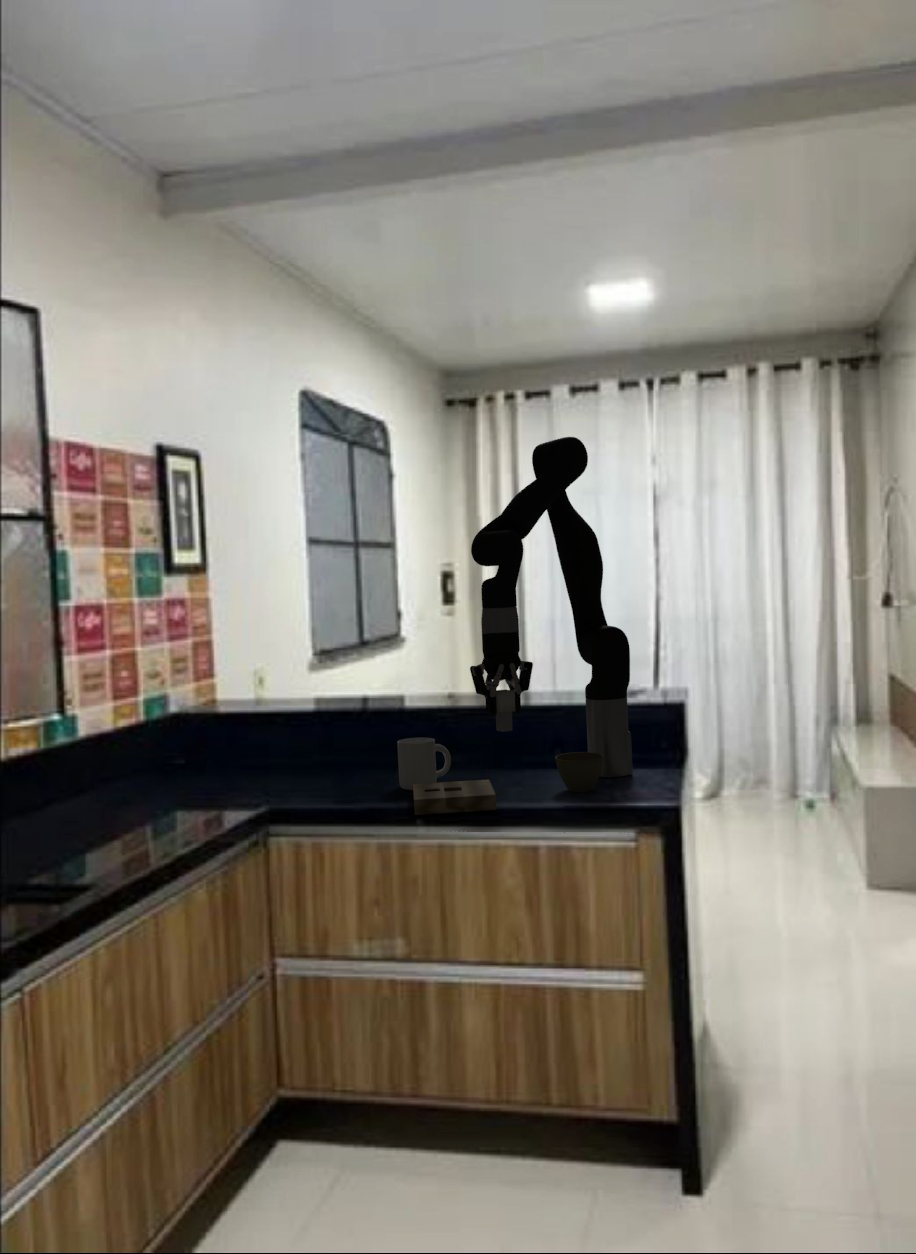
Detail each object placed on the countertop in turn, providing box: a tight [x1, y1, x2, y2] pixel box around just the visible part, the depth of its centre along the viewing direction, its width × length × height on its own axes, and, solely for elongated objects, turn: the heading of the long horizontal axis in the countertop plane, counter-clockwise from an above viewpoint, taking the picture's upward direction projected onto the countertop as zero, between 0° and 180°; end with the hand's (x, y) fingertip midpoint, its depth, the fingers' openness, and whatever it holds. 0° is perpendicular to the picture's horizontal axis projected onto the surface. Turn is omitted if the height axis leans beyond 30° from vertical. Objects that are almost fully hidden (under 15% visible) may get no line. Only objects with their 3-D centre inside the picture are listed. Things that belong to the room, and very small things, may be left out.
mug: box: [396, 737, 452, 791], centre depth 242 cm, size 12×8×10 cm
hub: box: [412, 779, 497, 816], centre depth 222 cm, size 16×16×3 cm
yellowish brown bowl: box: [554, 751, 603, 793], centre depth 229 cm, size 10×10×7 cm
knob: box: [494, 689, 516, 733], centre depth 222 cm, size 5×5×8 cm
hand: (503, 713), depth 222 cm, fingers closed on knob, 4 cm apart
